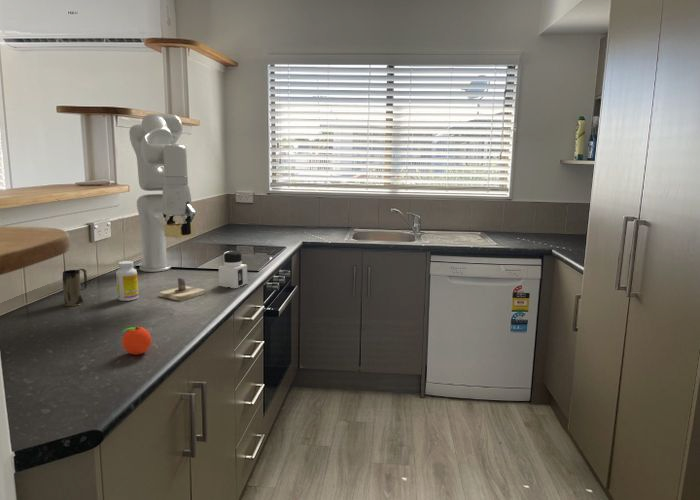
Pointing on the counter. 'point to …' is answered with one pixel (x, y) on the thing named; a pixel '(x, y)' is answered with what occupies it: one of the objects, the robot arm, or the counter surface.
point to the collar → (175, 230)
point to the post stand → (181, 291)
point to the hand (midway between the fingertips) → (179, 233)
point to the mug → (73, 287)
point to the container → (232, 270)
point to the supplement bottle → (127, 281)
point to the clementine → (136, 340)
